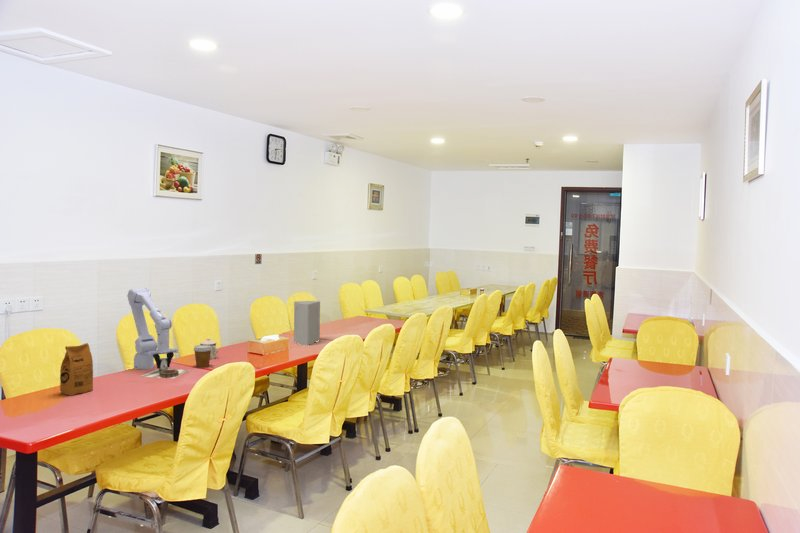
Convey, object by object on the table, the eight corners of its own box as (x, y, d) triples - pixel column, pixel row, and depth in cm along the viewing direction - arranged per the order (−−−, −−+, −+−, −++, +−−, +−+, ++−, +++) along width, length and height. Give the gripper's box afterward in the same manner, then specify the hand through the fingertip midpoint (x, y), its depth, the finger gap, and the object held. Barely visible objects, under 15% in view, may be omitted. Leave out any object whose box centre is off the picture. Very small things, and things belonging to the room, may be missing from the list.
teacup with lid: (196, 358, 341) (196, 338, 340) (208, 355, 349) (208, 336, 349) (212, 360, 336) (212, 340, 335) (223, 357, 344) (223, 338, 343)
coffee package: (57, 393, 264) (56, 345, 263) (83, 387, 274) (83, 341, 273) (69, 396, 259) (68, 348, 257) (96, 390, 269) (95, 344, 268)
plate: (139, 378, 293) (139, 376, 293) (158, 370, 310) (158, 368, 310) (173, 380, 290) (173, 378, 290) (190, 372, 308) (190, 370, 308)
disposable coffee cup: (214, 366, 322) (214, 345, 322) (207, 370, 313) (207, 348, 312) (198, 365, 323) (198, 344, 322) (190, 369, 314) (190, 347, 313)
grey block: (300, 339, 407) (301, 300, 406) (319, 341, 403) (320, 301, 402) (287, 344, 389) (288, 303, 388) (307, 346, 385) (308, 304, 383)
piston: (157, 370, 302) (157, 359, 301) (161, 369, 306) (161, 357, 306) (165, 371, 301) (165, 360, 301) (169, 369, 306) (169, 358, 305)
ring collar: (156, 377, 292) (155, 373, 292) (165, 373, 301) (165, 369, 301) (172, 378, 291) (172, 374, 291) (181, 373, 300) (181, 370, 300)
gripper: (150, 344, 295) (150, 370, 296) (179, 341, 304) (179, 367, 305) (147, 342, 301) (147, 368, 302) (175, 339, 310) (175, 364, 310)
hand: (163, 367), depth 304 cm, fingers closed on piston, 4 cm apart
